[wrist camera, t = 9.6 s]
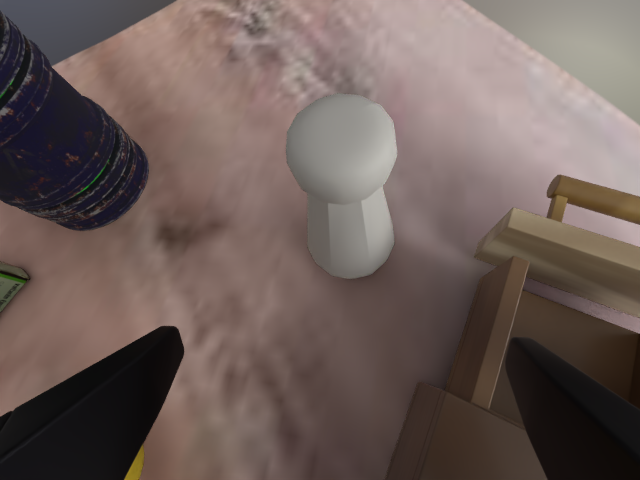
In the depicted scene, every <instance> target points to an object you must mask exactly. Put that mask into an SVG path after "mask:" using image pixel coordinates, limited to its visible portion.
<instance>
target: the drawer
mask: <svg viewBox="0 0 640 480" xmlns="http://www.w3.org/2000/svg"><path fill="white" fill-rule="evenodd" d="M547 197H548V198H551V199H552V200H551V203H550V207H549V210H548V214H547V218H545V217H542V216H539V215H536V214H533V213H530V212H526V211H523V210H520V209H517V208H512V209H511V210H510V211H509V212H508V213H507V214H506V215H505V216H504V217H503V218H502V219H501V220H500V221H499V222H498V223H497V224H496V225H495V226H494V227H493V228H492V229H491V230H490V231H489V232H488V234H487V235H486V236H485V237H484V238H483V239H482V240H481V241H480V242H479V243H478V246H477V249H476V252H475V255H474V258H476V259H479V260H482V261H485V262H487V263H490V264H493V265H495V266H498V267H496V268H495V269H494V270H492V271H491V272H489V273H488V274H486V275H485V276H483V277H482V278H481V279H480V281H479V284H478V287H477V290H476V293H475V297H474V300H473V303H472V306H471V309H470V312H469V315H468V319H467V322H466V325H465V328H464V331H463V334H462V337H461V340H460V344H459V347H458V350H457V353H456V356H455V359H454V362H453V366H452V369H451V372H450V375H449V378H448V381H447V384H446V388H445V391H446V392H449V393H451V394H453V395H455V396H457V397H459V398H461V399H463V400H465V401H467V402H469V403H471V404H474V405H476V406H478V407H480V408H482V409H484V410H486V411H488V412H490V413H492V414H494V415H496V416H498V417H500V418H502V419H505V420H507V421H509V422H511V423H513V424H515V425H517V426H519V427H521V428H523V429H525V427H524V424H523V421H522V418H521V415H520V412H519V409H518V406H517V403H516V400H515V397H514V394H513V391H512V388H511V385H510V382H509V379H508V376H507V373H506V369H505V359H506V355H507V351H508V347H509V342H510V340H511V338H513V337H529V338H532V339H534V340H535V341H537V342H538V343H540V344H541V345H543V346H544V347H546V348H547V349H549V350H550V351H552V352H553V353H555V354H557V355H558V356H560V357H561V358H563V359H564V360H566V361H567V362H569V363H570V364H572V365H573V366H575V367H576V368H578V369H579V370H581V371H582V372H584V373H585V374H587V375H588V376H590V377H591V378H593V379H594V380H596V381H597V382H599V383H600V384H602V385H603V386H605V387H606V388H608V389H610V390H611V391H613V392H614V393H616V394H617V395H619V396H620V397H622V398H623V399H625V400H626V401H628V402H629V403H631V404H632V405H634V406H635V407H637V408H638V409H640V334H638V333H636V332H633V331H630V330H628V329H625V328H622V327H620V326H617V325H615V324H612V323H609V322H607V321H604V320H601V319H599V318H596V317H593V316H591V315H588V314H585V313H583V312H580V311H577V310H575V309H572V308H569V307H567V306H564V305H561V304H559V303H556V302H553V301H551V300H548V299H545V298H543V297H540V296H537V295H535V294H532V293H529V292H527V291H524V290H522V288H523V284H524V281H525V277H528V278H531V279H534V280H537V281H539V282H542V283H545V284H548V285H550V286H553V287H556V288H558V289H561V290H564V291H567V292H569V293H572V294H575V295H578V296H580V297H583V298H586V299H589V300H591V301H594V302H597V303H600V304H602V305H605V306H608V307H611V308H613V309H616V310H619V311H621V312H624V313H627V314H630V315H632V316H635V317H638V318H640V247H638V246H634V245H631V244H628V243H625V242H622V241H619V240H615V239H612V238H609V237H606V236H603V235H599V234H596V233H593V232H590V231H587V230H584V229H580V228H577V227H574V226H571V225H568V224H565V223H562V219H563V215H564V211H565V207H566V203H568V204H572V205H575V206H578V207H582V208H585V209H588V210H592V211H595V212H598V213H602V214H605V215H608V216H612V217H615V218H618V219H622V220H625V221H628V222H632V223H635V224H638V225H640V197H639V196H635V195H632V194H628V193H625V192H621V191H617V190H614V189H610V188H607V187H603V186H599V185H596V184H592V183H589V182H585V181H582V180H578V179H574V178H571V177H567V176H564V175H557V176H556V177H555V178H554V179H553V181H552V182H551V184H550V185H549V187H548V190H547ZM525 430H526V429H525Z"/></svg>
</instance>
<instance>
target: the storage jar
mask: <svg viewBox="0 0 640 480" xmlns="http://www.w3.org/2000/svg"><path fill="white" fill-rule="evenodd" d="M148 172H149V165H148V160H147V157H146V155H145V152H144V151H143V150H142V148H141V147H140V146H139V145H138V144H137V143H135V142H134V141H133V140H131V138H130V137H129V136H128V135H127V134H126V132H125V131H124V130H123V128H122V127H121V126H120V125H119V124H118V123H117V122H116V121H115V120H114V119H112V118H111V117H110V116H109V115H108V114H107V113H106V112H105V110H104V109H103V108H102V107H101V106H99V105H98V104H96V103H95V102H93V101H92V100H91V99H89V98H87V97H84V96H82V95H81V94H80V93H79V92H77V91H76V90H75V89H74V88H73V87H72V86H71V85H70V84H69V83H68V82H67V81H66V80H65V79H64V78H63V77H62V76H60V75H59V74H58V73H57V72H56V71H55V70H54V69H53V68H52V67H51V65H50V63H49V60H48V59H47V57H46V56H45V55H44V54H43V53H42V52H41V50H40V49H39V47H38V46H37V45H36V44H35V43H33V42H32V41H31V40H29V39H27V38H26V37H25V36H24V35H23V34H22V33H21V31H20V30H19V28H18V27H17V26H16V25H14V24H13V22H12V21H11V20H10V19H9V18H8V17H6V16H5V15H4V14H3V13H2V12H1V11H0V200H2V201H3V202H4V203H6V204H9V205H11V206H16V207H18V208H19V209H22V210H24V211H26V212H28V213H31V214H33V215H35V216H38V217H41V218H45V219H48V220H50V221H54V222H56V223H57V224H59V225H62V226H64V227H66V228H68V229H72V230H80V231H85V230H93V229H96V228H100V227H103V226H105V225H107V224H109V223H111V222H113V221H115V220H116V219H118V218H119V217H121V216H122V215H123V214H125V213H126V212H127V211H128V210H129V209H130V208H131V207H132V206H133V205H134V203H135V202H136V201H137V200H138V198H139V197H140V195H141V193H142V191H143V189H144V187H145V185H146V182H147V179H148Z"/></svg>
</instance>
